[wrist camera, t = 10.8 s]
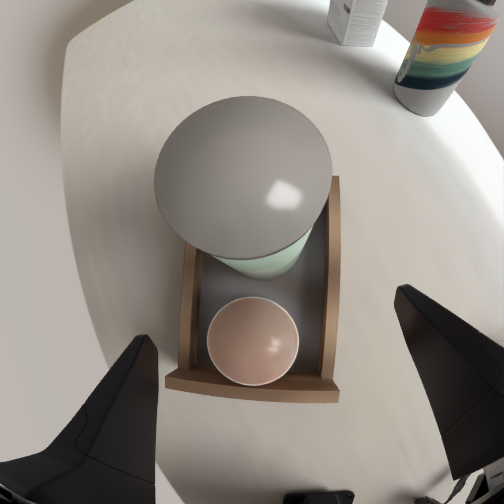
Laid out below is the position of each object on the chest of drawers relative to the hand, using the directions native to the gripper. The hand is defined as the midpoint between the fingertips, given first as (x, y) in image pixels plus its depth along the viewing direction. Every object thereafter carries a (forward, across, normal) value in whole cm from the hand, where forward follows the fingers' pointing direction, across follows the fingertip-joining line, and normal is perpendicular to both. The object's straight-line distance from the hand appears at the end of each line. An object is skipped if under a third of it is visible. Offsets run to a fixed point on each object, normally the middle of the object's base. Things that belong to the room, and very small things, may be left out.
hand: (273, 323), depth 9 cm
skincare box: (+29, -16, -12) cm, 35 cm away
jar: (+7, +2, +9) cm, 11 cm away
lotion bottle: (+21, -19, -4) cm, 28 cm away
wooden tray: (+10, +1, +6) cm, 12 cm away
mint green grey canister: (+11, 0, +4) cm, 12 cm away
